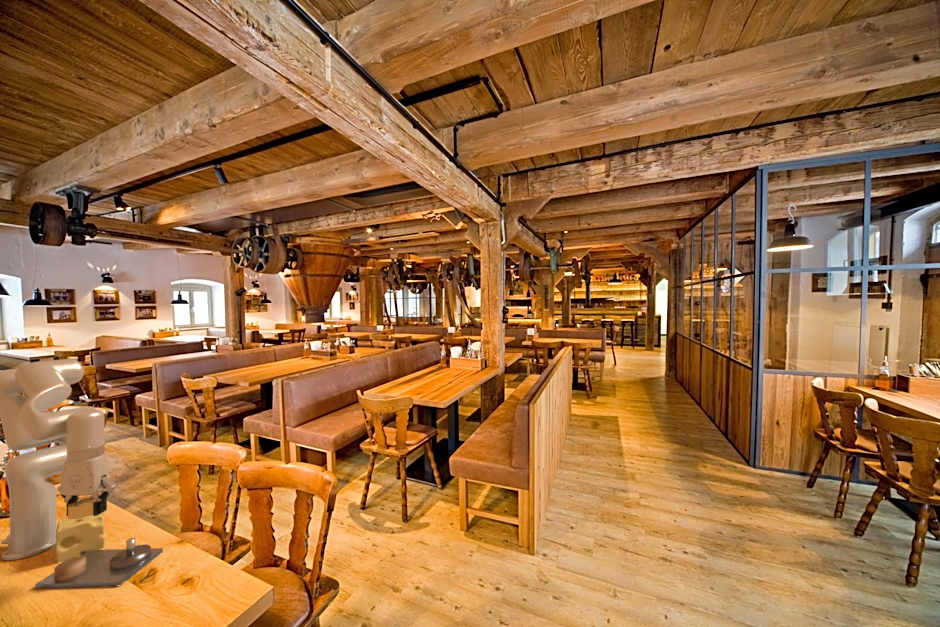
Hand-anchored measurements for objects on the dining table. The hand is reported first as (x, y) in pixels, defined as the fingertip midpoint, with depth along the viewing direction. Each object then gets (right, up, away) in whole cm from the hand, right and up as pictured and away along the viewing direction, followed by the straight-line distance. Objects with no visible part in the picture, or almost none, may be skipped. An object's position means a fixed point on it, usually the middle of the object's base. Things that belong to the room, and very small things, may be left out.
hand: (87, 513), depth 102 cm
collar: (0, 0, 0) cm, 0 cm away
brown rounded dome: (-3, -18, -1) cm, 18 cm away
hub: (+9, -18, +5) cm, 20 cm away
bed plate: (+3, -18, +2) cm, 18 cm away
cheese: (-15, -18, +11) cm, 26 cm away
